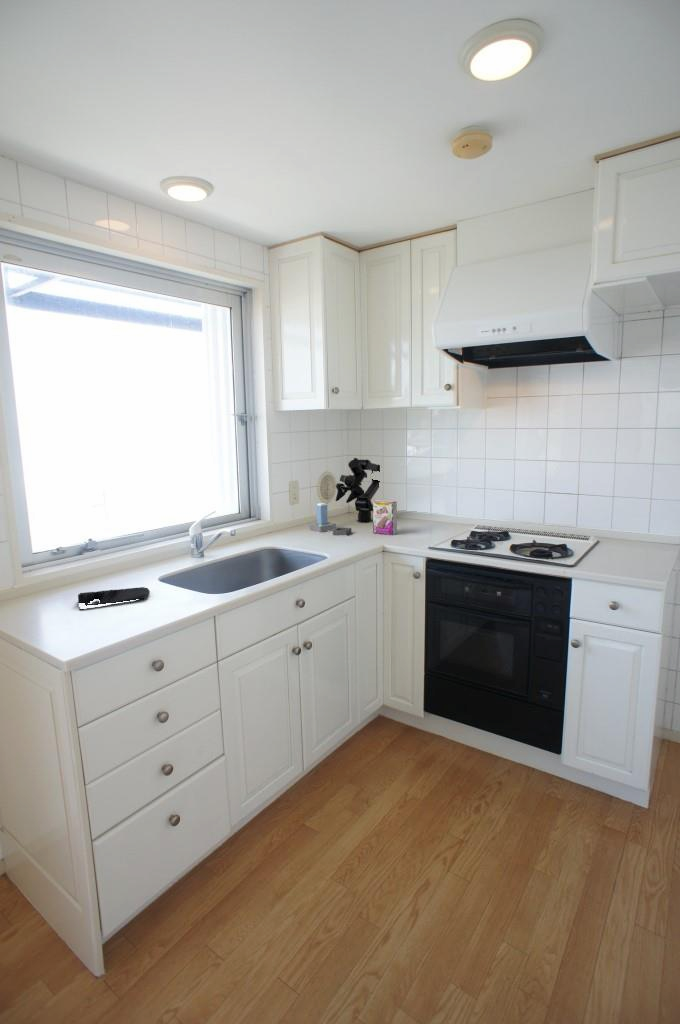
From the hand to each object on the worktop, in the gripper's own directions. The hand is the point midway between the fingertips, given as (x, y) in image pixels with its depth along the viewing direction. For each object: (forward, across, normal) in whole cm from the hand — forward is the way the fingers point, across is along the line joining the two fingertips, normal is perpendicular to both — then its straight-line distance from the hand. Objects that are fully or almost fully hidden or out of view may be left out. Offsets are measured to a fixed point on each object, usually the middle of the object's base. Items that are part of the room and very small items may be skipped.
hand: (341, 501), depth 283 cm
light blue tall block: (+18, -2, +2) cm, 18 cm away
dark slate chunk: (+100, +40, -79) cm, 133 cm away
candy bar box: (+6, +29, +13) cm, 32 cm away
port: (+18, -2, +2) cm, 18 cm away
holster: (+17, +14, +2) cm, 22 cm away
